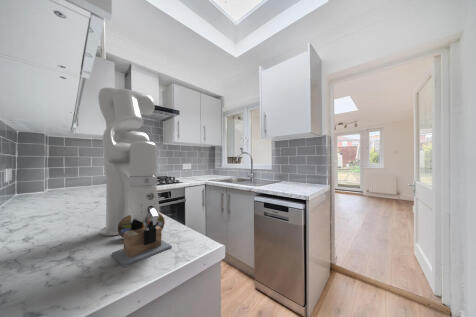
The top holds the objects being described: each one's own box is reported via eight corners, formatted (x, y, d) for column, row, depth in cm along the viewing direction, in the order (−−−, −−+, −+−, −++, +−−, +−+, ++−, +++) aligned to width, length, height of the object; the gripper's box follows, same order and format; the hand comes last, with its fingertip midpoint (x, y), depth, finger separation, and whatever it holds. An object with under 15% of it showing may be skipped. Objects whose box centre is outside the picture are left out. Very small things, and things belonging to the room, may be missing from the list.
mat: (111, 254, 49) (111, 252, 49) (156, 239, 59) (156, 237, 59) (123, 267, 43) (123, 264, 43) (171, 247, 53) (171, 245, 53)
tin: (117, 240, 59) (117, 216, 59) (120, 237, 62) (121, 213, 62) (164, 235, 63) (164, 212, 63) (165, 232, 66) (165, 210, 66)
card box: (155, 241, 56) (155, 224, 56) (161, 245, 53) (161, 227, 53) (123, 252, 49) (123, 232, 50) (128, 257, 46) (128, 236, 47)
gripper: (169, 182, 49) (169, 242, 49) (144, 179, 60) (144, 228, 60) (141, 184, 44) (141, 252, 43) (120, 181, 55) (119, 235, 54)
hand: (142, 238), depth 51 cm, fingers open, 9 cm apart
